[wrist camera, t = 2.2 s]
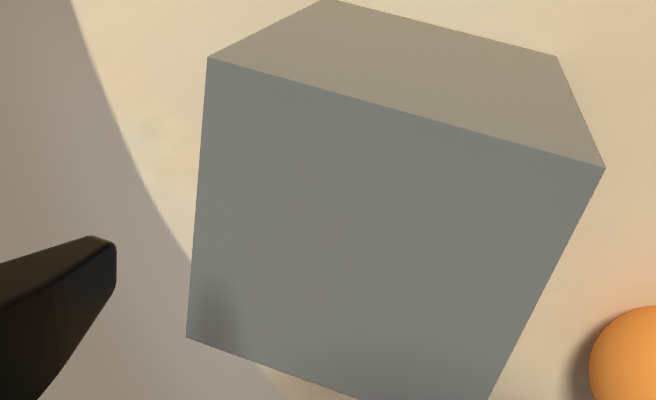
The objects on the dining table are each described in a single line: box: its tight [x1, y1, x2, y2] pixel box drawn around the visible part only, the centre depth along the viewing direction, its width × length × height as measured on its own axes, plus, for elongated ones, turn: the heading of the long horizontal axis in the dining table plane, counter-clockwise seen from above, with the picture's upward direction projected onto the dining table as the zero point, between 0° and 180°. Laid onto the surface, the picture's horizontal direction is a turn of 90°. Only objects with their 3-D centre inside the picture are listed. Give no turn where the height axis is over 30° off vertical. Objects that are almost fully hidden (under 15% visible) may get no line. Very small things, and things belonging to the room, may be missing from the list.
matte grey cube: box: [186, 0, 606, 400], centre depth 16 cm, size 8×8×9 cm
